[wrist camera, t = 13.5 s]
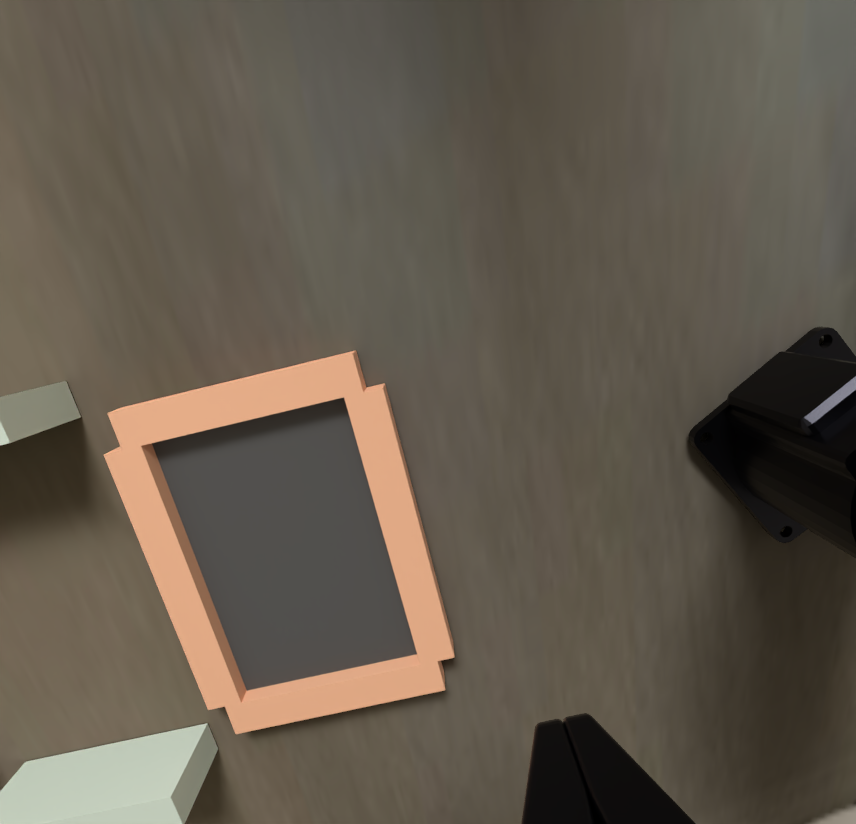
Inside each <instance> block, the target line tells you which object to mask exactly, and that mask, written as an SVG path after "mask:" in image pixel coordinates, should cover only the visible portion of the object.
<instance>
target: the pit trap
mask: <svg viewBox="0 0 856 824" xmlns="http://www.w3.org/2000/svg"><path fill="white" fill-rule="evenodd" d="M108 416H109V418H110V421H111V423H112V426H113V428H114V431H115V433H116V436H117V438H118V441H119V443H120V446H121V447H118V448H116V449H114V450H112V451H110V452H108V453H106V454H104V457H105V459H106V462H107V464H108V467H109V469H110V471H111V474H112V476H113V479H114V481H115V484H116V486H117V489H118V491H119V493H120V496H121V498H122V501H123V503H124V506H125V508H126V510H127V513H128V515H129V518H130V520H131V523H132V525H133V528H134V530H135V532H136V535H137V537H138V540H139V542H140V545H141V547H142V549H143V552H144V554H145V557H146V559H147V562H148V564H149V567H150V569H151V571H152V574H153V576H154V579H155V581H156V584H157V586H158V589H159V591H160V593H161V596H162V598H163V601H164V603H165V606H166V608H167V610H168V613H169V615H170V618H171V620H172V623H173V625H174V628H175V630H176V632H177V635H178V637H179V640H180V642H181V645H182V647H183V649H184V652H185V654H186V657H187V659H188V662H189V664H190V667H191V669H192V671H193V674H194V676H195V679H196V681H197V684H198V686H199V689H200V691H201V693H202V696H203V698H204V701H205V703H206V706H207V708H208V710H211V709H216V708H221V707H225V708H226V711H227V713H228V716H229V718H230V721H231V723H232V726H233V728H234V731H235V733H236V734H239V733H244V732H249V731H254V730H258V729H263V728H268V727H273V726H277V725H282V724H287V723H292V722H296V721H301V720H306V719H311V718H315V717H320V716H325V715H330V714H334V713H339V712H344V711H349V710H353V709H358V708H363V707H368V706H372V705H377V704H382V703H387V702H391V701H396V700H401V699H406V698H411V697H415V696H420V695H425V694H430V693H434V692H439V691H444V690H445V674H444V670H443V666H442V662H441V660H446V659H451V658H455V657H454V645H453V639H452V635H451V632H450V628H449V624H448V620H447V616H446V613H445V609H444V605H443V601H442V597H441V594H440V590H439V586H438V582H437V579H436V575H435V571H434V567H433V563H432V560H431V556H430V552H429V548H428V544H427V541H426V537H425V533H424V529H423V525H422V522H421V518H420V514H419V510H418V507H417V503H416V499H415V495H414V491H413V488H412V484H411V480H410V476H409V472H408V469H407V465H406V461H405V457H404V454H403V450H402V446H401V442H400V438H399V435H398V431H397V427H396V423H395V419H394V416H393V412H392V408H391V404H390V401H389V397H388V393H387V389H386V385H385V383H384V384H380V385H375V386H371V387H367V388H366V384H365V381H364V377H363V373H362V370H361V366H360V362H359V359H358V355H357V352H356V351H352V352H348V353H343V354H339V355H335V356H331V357H327V358H323V359H319V360H315V361H311V362H306V363H302V364H298V365H294V366H290V367H286V368H282V369H278V370H274V371H269V372H265V373H261V374H257V375H253V376H249V377H245V378H241V379H237V380H233V381H228V382H224V383H220V384H216V385H212V386H208V387H204V388H200V389H196V390H191V391H187V392H183V393H179V394H175V395H171V396H167V397H163V398H159V399H154V400H150V401H146V402H142V403H138V404H134V405H130V406H126V407H122V408H119V409H117V410H114V411H112V412H109V413H108Z"/></svg>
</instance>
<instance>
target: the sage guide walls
mask: <svg viewBox="0 0 856 824" xmlns="http://www.w3.org/2000/svg"><path fill="white" fill-rule="evenodd" d="M80 417H81V416H80V413H79V411H78V408H77V406H76V404H75V401H74V399H73V396H72V394H71V392H70V389H69V387H68V384H67V382H66V381H63V382H59V383H55V384H51V385H47V386H43V387H39V388H35V389H31V390H27V391H23V392H18V393H14V394H10V395H6V396H2V397H0V445H4V444H8V443H12V442H14V441H17V440H20V439H23V438H25V437H28V436H31V435H34V434H36V433H39V432H42V431H45V430H47V429H50V428H53V427H56V426H58V425H61V424H64V423H67V422H69V421H72V420H75V419H78V418H80ZM217 751H218V747H217V745H216V742H215V740H214V737H213V735H212V733H211V730H210V728H209V725H208V723H206V724H202V725H197V726H192V727H188V728H183V729H178V730H173V731H169V732H164V733H159V734H155V735H150V736H145V737H140V738H136V739H131V740H126V741H121V742H117V743H112V744H107V745H103V746H98V747H93V748H88V749H84V750H79V751H74V752H70V753H65V754H60V755H55V756H51V757H46V758H41V759H36V760H32V761H27V762H25V763H24V764H23V765H22V766H21V768H20V769H19V770H18V771H17V772H16V774H15V775H14V776H13V777H12V778H11V779H10V781H9V782H8V783H7V784H6V785H5V786H4V788H3V789H2V790H1V791H0V824H185V822H186V820H187V817H188V815H189V813H190V811H191V809H192V806H193V804H194V802H195V800H196V797H197V795H198V793H199V791H200V789H201V786H202V784H203V782H204V780H205V777H206V775H207V773H208V771H209V769H210V766H211V764H212V762H213V760H214V757H215V755H216V753H217Z"/></svg>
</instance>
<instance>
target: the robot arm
mask: <svg viewBox="0 0 856 824" xmlns="http://www.w3.org/2000/svg"><path fill="white" fill-rule="evenodd" d="M821 336H824V342H823V344H822V345H819V339H820V338H821ZM706 432H707V433H708V436H707V439H706V440H705V441H703V442H701V441H700V438H701V436H702V434H704V433H706ZM689 441H690V443H691V444H692V445H693V447H694V448H695V449H696V450H697V451H698V452H699V454H700V455H701V456H702V457H703V458H704V459H705V461H706V462H707V463H708V464H709V465H710V466H711V467H712V469H713V470H714V471H715V472H716V473H717V474H718V476H719V477H720V478H721V479H722V480H723V481H724V483H725V484H726V485H727V486H728V487H729V488H730V489H731V491H732V492H733V493H734V494H735V495H736V496H737V498H738V499H739V500H740V501H741V502H742V503H743V505H744V506H745V507H746V508H747V509H748V510H749V512H750V513H751V514H752V515H753V516H754V517H755V518H756V520H757V521H758V522H759V523H760V524H761V525H762V527H763V528H764V529H765V530H766V531H767V532H768V534H769V535H770V536H772V537H773V538H775V539H776V540H778V541H779V542H782V543H786V542H790V541H792V540H793V539H795V538H796V537H797V536H799V535H800V534H801V533H803V532H804V531H805V530H807V529H809V530H810V531H812V532H814V533H815V534H817V535H819V536H820V537H822V538H823V539H825V540H827V541H828V542H830V543H832V544H833V545H835V546H837V547H838V548H840V549H841V550H843V551H845V552H846V553H848V554H850V555H851V556H853V557H854V558H856V356H855V355H854V354H853V352H852V351H851V350H850V348H849V347H848V346H847V344H846V343H845V342H844V340H843V339H842V338H841V336H840V335H839V334H838V332H837V331H835V330H834V329H832V328H828V327H817V328H814V329H812V330H810V331H809V332H808V333H807V334H805V335H804V336H803V337H802V338H801V339H799V340H798V341H797V342H796V343H795V344H793V345H792V346H791V347H790V348H789V349H787V350H786V351H785V352H779V353H778V354H777V355H775V356H774V357H773V358H772V359H771V360H769V361H768V362H767V363H766V364H765V365H763V366H762V367H761V368H760V369H758V370H757V371H756V372H755V373H754V374H752V375H751V376H750V377H749V378H748V379H746V380H745V381H744V382H743V383H742V384H740V385H739V386H738V387H737V388H736V389H734V390H733V391H732V392H731V393H730V394H729V395H728V398H727V400H726V401H725V402H723V403H722V404H721V405H720V406H719V407H717V408H716V409H715V410H714V411H712V412H711V413H710V414H709V415H708V416H706V417H705V418H704V419H703V420H702V421H700V422H699V423H698V424H697V425H696V426H694V427H693V429H692V430H691V431H690V434H689ZM785 526H786V527H785ZM783 527H785V530H784V531H783V532H781V533H780V530H781V529H782V528H783ZM521 824H695V823H694V822H693V820H692V819H691V818H690V817H689V816H688V815H687V814H686V813H685V812H684V811H683V810H682V809H681V808H680V807H679V806H678V805H677V804H676V803H675V802H674V801H673V800H672V799H671V798H670V797H669V796H668V795H667V794H666V793H665V792H664V791H663V789H662V788H661V787H660V786H659V785H658V784H657V783H656V782H655V781H654V780H653V779H652V778H651V777H650V776H649V775H648V774H647V773H646V772H645V771H644V770H643V769H642V768H641V767H640V766H639V765H638V764H637V763H636V762H635V761H634V760H633V758H632V757H631V756H630V755H629V754H628V753H627V752H626V751H625V750H624V749H623V748H622V747H621V746H620V745H619V744H618V743H617V742H616V741H615V740H614V739H613V738H612V737H611V736H610V735H609V734H608V733H607V732H606V731H605V730H604V729H603V728H602V726H601V725H600V724H599V723H598V722H597V721H596V720H595V719H594V718H593V717H592V716H591V715H589V714H586V713H584V714H579V715H574V716H569V717H566V718H565V719H564V720H563V722H562V721H561V720H559V719H555V720H550V721H545V722H540V723H538V724H537V725H536V727H535V732H534V739H533V746H532V753H531V760H530V767H529V774H528V781H527V788H526V795H525V802H524V809H523V816H522V823H521Z"/></svg>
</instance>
